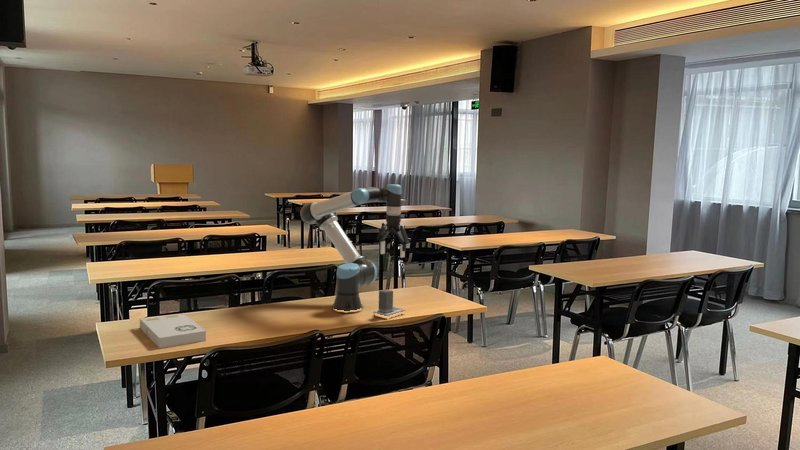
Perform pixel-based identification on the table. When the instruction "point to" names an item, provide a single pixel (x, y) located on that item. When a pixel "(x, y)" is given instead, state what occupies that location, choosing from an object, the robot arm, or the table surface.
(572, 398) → the table surface
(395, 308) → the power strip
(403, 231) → the robot arm
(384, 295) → the charger
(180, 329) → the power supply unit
